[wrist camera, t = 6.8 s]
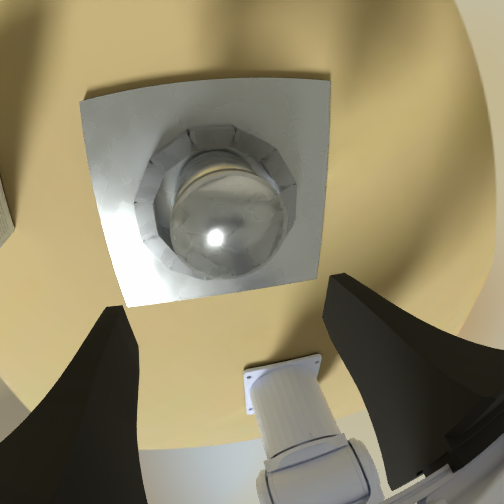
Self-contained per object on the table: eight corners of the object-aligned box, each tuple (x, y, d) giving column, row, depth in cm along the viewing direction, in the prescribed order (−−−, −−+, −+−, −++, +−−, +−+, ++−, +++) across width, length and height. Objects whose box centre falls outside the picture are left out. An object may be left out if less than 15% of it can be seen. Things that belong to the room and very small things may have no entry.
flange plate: (313, 274, 22) (325, 291, 21) (128, 301, 20) (125, 322, 18) (326, 80, 15) (343, 81, 13) (82, 101, 13) (69, 103, 11)
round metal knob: (261, 147, 16) (292, 170, 12) (258, 228, 19) (282, 273, 14) (169, 151, 15) (164, 176, 11) (175, 235, 18) (176, 284, 13)
